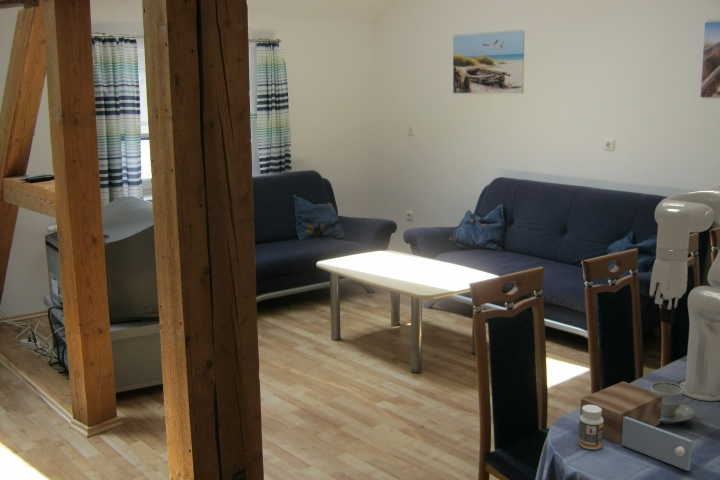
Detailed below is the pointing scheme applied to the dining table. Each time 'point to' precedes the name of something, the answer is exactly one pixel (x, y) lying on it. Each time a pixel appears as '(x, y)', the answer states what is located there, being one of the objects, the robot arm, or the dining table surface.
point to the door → (657, 443)
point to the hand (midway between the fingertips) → (667, 322)
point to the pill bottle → (591, 427)
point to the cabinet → (624, 407)
